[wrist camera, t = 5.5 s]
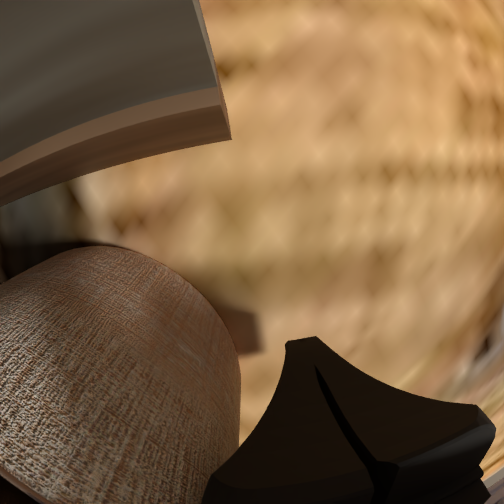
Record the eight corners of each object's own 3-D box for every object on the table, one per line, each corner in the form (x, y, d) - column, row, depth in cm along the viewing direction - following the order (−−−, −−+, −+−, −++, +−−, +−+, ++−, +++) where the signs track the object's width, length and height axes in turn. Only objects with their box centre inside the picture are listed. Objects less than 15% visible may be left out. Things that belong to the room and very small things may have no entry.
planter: (113, 446, 14) (67, 567, 4) (3, 296, 11) (-118, 383, 2) (280, 405, 13) (307, 592, 3) (161, 191, 10) (-95, 255, 1)
